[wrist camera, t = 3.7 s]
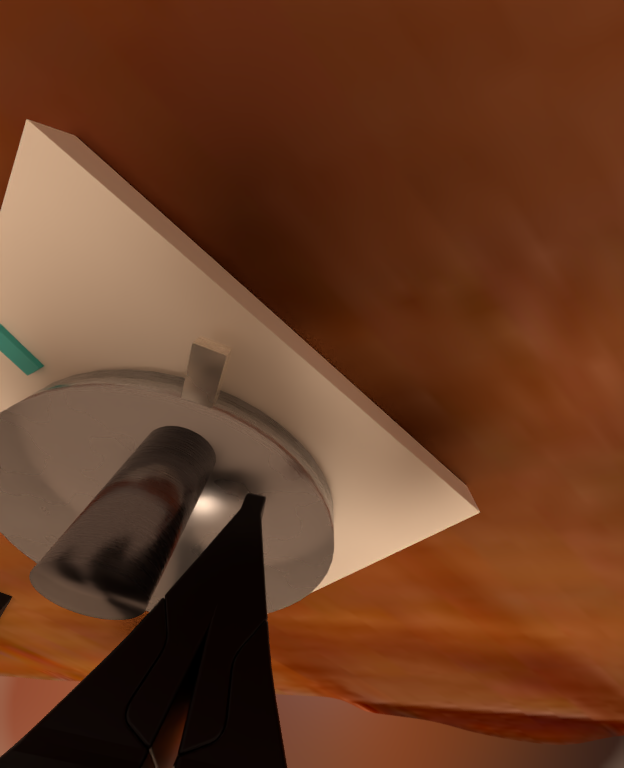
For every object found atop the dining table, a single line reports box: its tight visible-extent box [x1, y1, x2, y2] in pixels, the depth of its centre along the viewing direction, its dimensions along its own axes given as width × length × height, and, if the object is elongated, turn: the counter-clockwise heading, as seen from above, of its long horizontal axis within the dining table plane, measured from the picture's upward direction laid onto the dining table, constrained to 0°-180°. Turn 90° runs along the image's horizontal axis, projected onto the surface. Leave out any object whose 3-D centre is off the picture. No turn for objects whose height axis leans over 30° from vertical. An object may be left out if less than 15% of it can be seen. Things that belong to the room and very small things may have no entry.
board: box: [0, 119, 480, 593], centre depth 14 cm, size 20×20×2 cm
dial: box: [0, 336, 334, 620], centre depth 11 cm, size 17×15×6 cm
